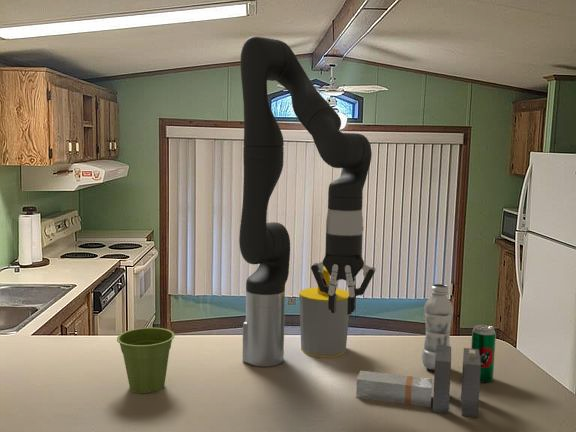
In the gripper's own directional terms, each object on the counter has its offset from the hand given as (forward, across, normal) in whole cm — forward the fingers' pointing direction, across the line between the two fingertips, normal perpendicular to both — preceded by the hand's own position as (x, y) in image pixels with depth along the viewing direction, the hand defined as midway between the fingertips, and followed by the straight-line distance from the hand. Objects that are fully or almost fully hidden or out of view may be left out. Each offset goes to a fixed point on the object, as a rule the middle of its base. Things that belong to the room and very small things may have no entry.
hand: (341, 312), depth 126 cm
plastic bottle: (+17, +19, +20) cm, 33 cm away
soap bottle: (+17, -9, +24) cm, 31 cm away
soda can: (+17, +29, +16) cm, 38 cm away
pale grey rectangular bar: (+17, +11, 0) cm, 21 cm away
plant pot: (+17, -40, -10) cm, 44 cm away
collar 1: (+17, +21, 0) cm, 27 cm away
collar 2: (+17, +26, 0) cm, 31 cm away
